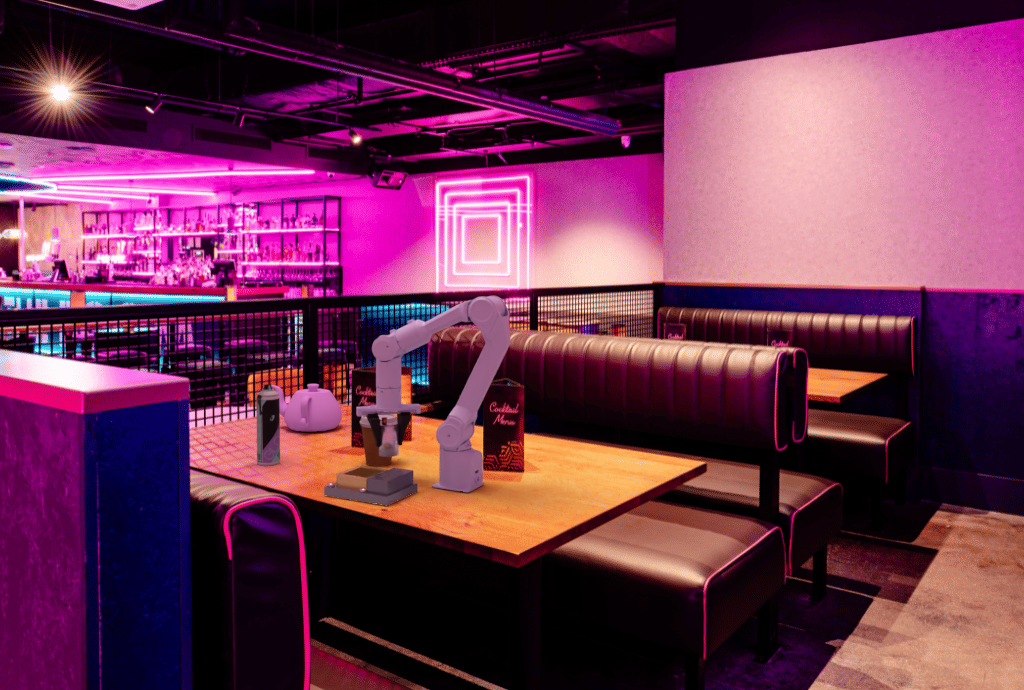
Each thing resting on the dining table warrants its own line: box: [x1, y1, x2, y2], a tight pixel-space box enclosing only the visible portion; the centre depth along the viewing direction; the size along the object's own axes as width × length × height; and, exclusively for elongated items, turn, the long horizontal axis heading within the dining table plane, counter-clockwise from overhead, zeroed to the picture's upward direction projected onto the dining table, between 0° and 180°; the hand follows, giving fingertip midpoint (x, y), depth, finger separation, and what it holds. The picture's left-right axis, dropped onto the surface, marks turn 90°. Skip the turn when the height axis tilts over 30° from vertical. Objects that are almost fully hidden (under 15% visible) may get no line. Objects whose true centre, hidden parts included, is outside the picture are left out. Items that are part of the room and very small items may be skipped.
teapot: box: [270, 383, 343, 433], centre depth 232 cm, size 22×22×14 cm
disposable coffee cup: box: [359, 414, 397, 467], centre depth 192 cm, size 10×10×12 cm
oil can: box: [379, 417, 400, 458], centre depth 176 cm, size 4×4×9 cm
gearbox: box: [323, 465, 419, 506], centre depth 165 cm, size 16×12×5 cm
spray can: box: [255, 383, 281, 467], centre depth 189 cm, size 6×6×20 cm
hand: (388, 445), depth 176 cm, fingers closed on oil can, 4 cm apart
